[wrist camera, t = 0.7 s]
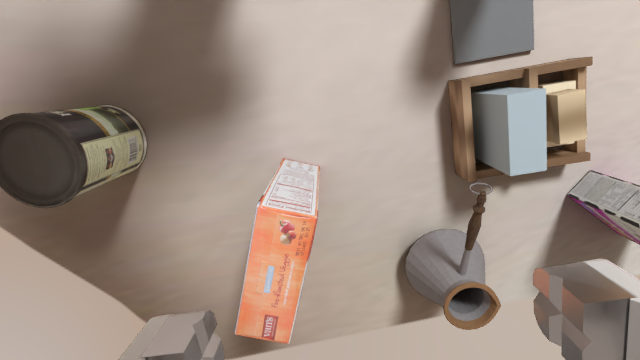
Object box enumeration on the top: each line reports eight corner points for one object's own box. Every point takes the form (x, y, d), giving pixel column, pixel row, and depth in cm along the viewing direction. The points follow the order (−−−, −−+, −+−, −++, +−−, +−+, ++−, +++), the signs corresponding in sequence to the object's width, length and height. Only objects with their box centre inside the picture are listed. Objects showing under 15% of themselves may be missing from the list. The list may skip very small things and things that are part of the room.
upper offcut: (542, 94, 45) (557, 95, 42) (568, 88, 44) (585, 89, 42) (545, 140, 46) (560, 144, 43) (570, 135, 46) (587, 138, 43)
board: (467, 92, 48) (507, 95, 37) (497, 87, 48) (546, 88, 37) (471, 156, 50) (510, 176, 40) (500, 151, 50) (546, 170, 39)
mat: (448, -10, 45) (450, -11, 44) (529, -26, 44) (532, -27, 43) (454, 64, 47) (455, 63, 46) (531, 50, 46) (533, 49, 46)
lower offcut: (527, 85, 48) (543, 85, 44) (558, 80, 48) (575, 80, 44) (528, 143, 50) (543, 147, 46) (557, 139, 50) (574, 143, 46)
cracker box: (304, 251, 55) (290, 349, 35) (266, 243, 55) (229, 337, 34) (323, 165, 51) (320, 218, 31) (282, 156, 51) (252, 204, 31)
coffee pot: (475, 287, 56) (526, 358, 41) (401, 291, 56) (427, 363, 42) (481, 154, 50) (542, 183, 36) (399, 160, 51) (428, 191, 36)
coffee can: (63, 118, 50) (-35, 131, 37) (128, 95, 49) (51, 99, 36) (97, 184, 53) (16, 219, 39) (159, 164, 52) (99, 192, 38)
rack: (448, 80, 48) (461, 80, 43) (570, 58, 46) (598, 55, 42) (455, 173, 51) (468, 182, 46) (569, 154, 50) (595, 162, 45)
